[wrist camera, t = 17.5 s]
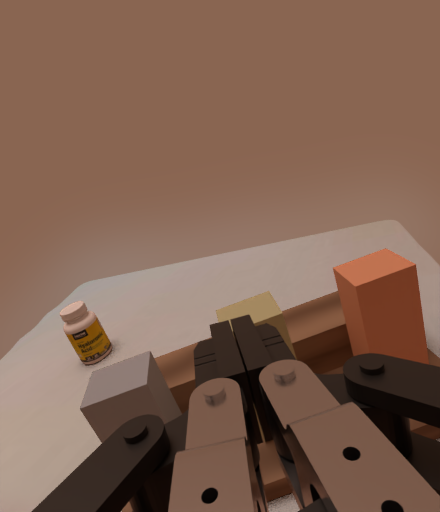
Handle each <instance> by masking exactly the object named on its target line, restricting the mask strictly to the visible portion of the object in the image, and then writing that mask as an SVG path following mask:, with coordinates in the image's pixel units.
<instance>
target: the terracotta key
mask: <svg viewBox="0 0 440 512" xmlns="http://www.w3.org/2000/svg"><path fill="white" fill-rule="evenodd" d="M333 270H334V275H335V279H336V283H337V288H338V292H339V296H340V300H341V305H342V309H343V313H344V318H345V322H346V326H347V330H348V335H349V339H350V343H351V348H352V352H353V356H357V355H360V354H366V353H377V354H383V355H388V356H392V357H397V358H401V359H406V360H411V361H415V362H420V363H424V364H429V359H428V352H427V345H426V337H425V330H424V322H423V315H422V307H421V300H420V292H419V285H418V277H417V270H416V264H414V263H412V262H410V261H408V260H407V259H405V258H403V257H401V256H399V255H397V254H395V253H394V252H392V251H390V250H388V249H383V250H380V251H377V252H375V253H372V254H369V255H367V256H364V257H361V258H358V259H356V260H353V261H350V262H347V263H345V264H342V265H339V266H337V267H334V268H333Z"/></svg>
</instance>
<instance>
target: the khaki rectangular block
mask: <svg viewBox="0 0 440 512" xmlns="http://www.w3.org/2000/svg"><path fill="white" fill-rule="evenodd" d="M216 313H217V317H218V322H223V321H226V320H229V323H230V326H231V329H232V325H231V321H230V319H233V318H237V317H241V316H244V315H248V314H249V315H250V317H251V319H252V321H253V323H254V325H255V326H258V325H262V324H265V323H268V324H270V325H272V326H274V327H276V328H277V330H278V331H279V333H280V335H281V336H282V338H283V339H284V342H285V343H286V344H287V346H288V347H289V349H290V351H291V352H292V354H293V355H294V357H295V358H296V355H295V352H294V349H293V345H292V342H291V339H290V336H289V333H288V329H287V326H286V323H285V320H284V317H283V313H282V312H281V310H280V308H279V307H278V305H277V303H276V302H275V300H274V298H273V297H272V295H271V294H270V292H269V291H268V292H265V293H262V294H259V295H257V296H254V297H251V298H249V299H246V300H243V301H240V302H238V303H235V304H232V305H229V306H227V307H224V308H221V309H219V310H216ZM232 332H233V329H232ZM233 335H234V333H233ZM234 338H235V337H234ZM296 360H297V358H296ZM254 408H255V407H254ZM255 412H256V410H255ZM256 416H257V413H256ZM257 420H258V424H259V428H260V432H261V435H262V437H263V440H264V442H265V439H264V435H263V432H262V429H261V426H260V423H259V419H258V416H257Z"/></svg>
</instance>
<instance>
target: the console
mask: <svg viewBox="0 0 440 512" xmlns="http://www.w3.org/2000/svg"><path fill="white" fill-rule="evenodd" d="M282 313H283V317H284V320H285V323H286V326H287V329H288V333H289V336H290V339H291V342H292V345H293V349H294V352H295V355H296V358H297V361H301V362H303V363H305V364H306V365H307V366H308V367H309V368H310V369H311V370H312V372H313V373H316V374H343V366H344V364H345V362H346V361H347V360H348V359H350V358H352V357H354V356H353V352H352V348H351V343H350V339H349V335H348V330H347V326H346V322H345V318H344V313H343V309H342V305H341V300H340V296H339V292H338V291H336V292H334V293H331V294H328V295H326V296H323V297H320V298H317V299H315V300H312V301H309V302H306V303H304V304H301V305H298V306H296V307H293V308H290V309H287V310H285V311H282ZM211 338H212V337H211ZM211 338H209V339H211ZM206 340H207V339H206ZM203 341H204V340H203ZM197 344H198V343H195V344H192V345H190V346H187V347H184V348H181V349H179V350H176V351H173V352H170V353H168V354H165V355H162V356H160V357H157V358H154V359H155V361H156V363H157V365H158V367H159V369H160V371H161V373H162V375H163V377H164V379H165V381H166V383H167V385H168V387H169V389H170V391H171V393H172V395H173V397H174V399H175V401H176V403H177V405H178V407H179V409H180V411H181V413H182V414H183V413H184V412H186V411H187V410H188V409H189V400H190V396H191V394H192V392H193V391H194V390H195V389H196V385H195V368H194V367H195V366H194V351H193V350H194V349H195V347H196V345H197ZM427 352H428V359H429V365H433V366H438V367H440V358H439V357H437V356H436V355H435V354H434V353H433V352H431V351H430V350H429V349H428V348H427ZM409 421H410V429H411V432H414V433H416V434H419V435H422V436H425V437H428V438H430V439H433V440H435V439H438V438H440V428H437V427H434V426H431V425H428V424H425V423H422V422H419V421H416V420H413V419H410V418H409ZM262 439H263V437H262ZM257 445H258V449H259V453H260V461H259V463H260V467H261V471H262V476H263V482H264V488H265V493H266V499H267V502H268V501H271V500H274V499H276V498H279V497H282V496H284V495H287V494H290V493H292V491H291V488H290V486H289V484H288V481H287V479H286V477H285V475H284V472H283V470H282V468H281V466H280V463H279V459H278V455H277V450H276V447H275V444H274V441H273V440H270V441H267V442H264V440H263V443H260V444H257ZM132 511H133V510H132V508H131V505H130V502H128V503H127V504H126V506H125V507H124V508H123V509H122V512H132Z"/></svg>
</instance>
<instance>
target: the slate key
mask: <svg viewBox="0 0 440 512" xmlns="http://www.w3.org/2000/svg"><path fill="white" fill-rule="evenodd" d="M80 410H81V411H82V413H83V414H84V416H85V418H86V419H87V421H88V422H89V424H90V425H91V427H92V428H93V430H94V431H95V433H96V435H97V436H98V438H99V439H100V441H101V442H102V443H103V442H104V441H105V440H106V439H107V438H108V437H109V436H110V435H111V434H113V433H114V432H115V431H116V430H117V429H118V428H119V427H120V426H121V425H122V424H124V423H125V422H127V421H129V420H130V419H133V418H135V417H138V416H141V415H147V414H152V415H156V416H159V417H160V418H161V419H162V420H163V423H164V424H166V423H168V422H170V421H171V420H173V419H175V418H177V417H179V416H180V415H182V413H181V411H180V409H179V407H178V405H177V403H176V401H175V399H174V397H173V395H172V393H171V391H170V389H169V387H168V385H167V383H166V381H165V379H164V377H163V375H162V373H161V371H160V369H159V367H158V365H157V363H156V361H155V359H154V357H153V355H152V353H151V351H148V352H145V353H142V354H140V355H137V356H134V357H131V358H129V359H126V360H123V361H121V362H118V363H115V364H112V365H110V366H107V367H104V368H102V369H99V370H96V371H93V372H92V374H91V377H90V380H89V383H88V386H87V389H86V392H85V395H84V398H83V401H82V404H81V407H80Z"/></svg>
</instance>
